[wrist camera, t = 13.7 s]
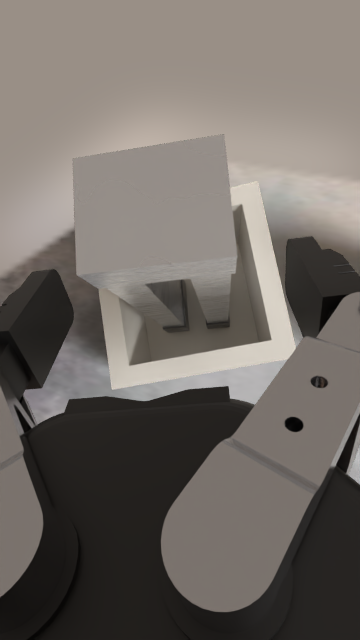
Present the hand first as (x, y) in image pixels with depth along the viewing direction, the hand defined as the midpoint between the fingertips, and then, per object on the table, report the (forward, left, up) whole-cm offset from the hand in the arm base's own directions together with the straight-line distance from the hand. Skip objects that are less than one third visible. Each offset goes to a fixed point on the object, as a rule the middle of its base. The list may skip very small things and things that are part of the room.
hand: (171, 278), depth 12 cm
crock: (0, +1, -11) cm, 11 cm away
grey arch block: (0, +1, -10) cm, 10 cm away
